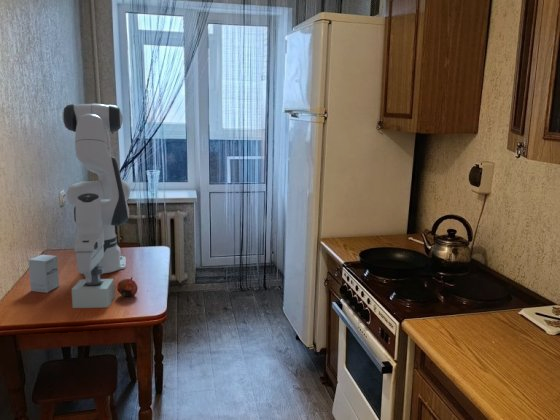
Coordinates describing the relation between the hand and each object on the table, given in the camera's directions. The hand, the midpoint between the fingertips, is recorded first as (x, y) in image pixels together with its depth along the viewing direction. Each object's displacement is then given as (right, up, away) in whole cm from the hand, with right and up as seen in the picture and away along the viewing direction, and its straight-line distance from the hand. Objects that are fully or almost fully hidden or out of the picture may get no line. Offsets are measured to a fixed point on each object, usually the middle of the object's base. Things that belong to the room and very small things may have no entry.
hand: (92, 277), depth 168 cm
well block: (0, -9, +2) cm, 10 cm away
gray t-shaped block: (0, -8, +2) cm, 9 cm away
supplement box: (-24, -7, +13) cm, 28 cm away
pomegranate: (+10, -9, +8) cm, 15 cm away
